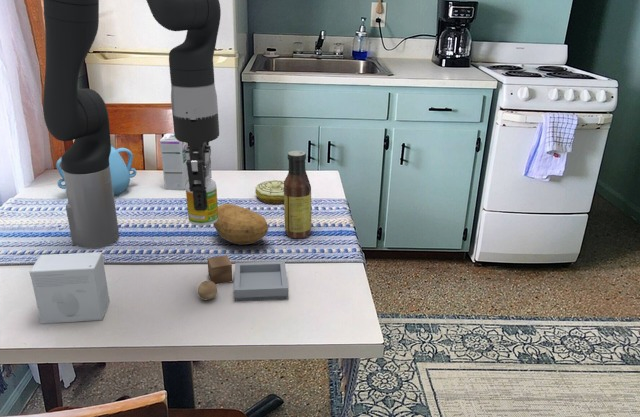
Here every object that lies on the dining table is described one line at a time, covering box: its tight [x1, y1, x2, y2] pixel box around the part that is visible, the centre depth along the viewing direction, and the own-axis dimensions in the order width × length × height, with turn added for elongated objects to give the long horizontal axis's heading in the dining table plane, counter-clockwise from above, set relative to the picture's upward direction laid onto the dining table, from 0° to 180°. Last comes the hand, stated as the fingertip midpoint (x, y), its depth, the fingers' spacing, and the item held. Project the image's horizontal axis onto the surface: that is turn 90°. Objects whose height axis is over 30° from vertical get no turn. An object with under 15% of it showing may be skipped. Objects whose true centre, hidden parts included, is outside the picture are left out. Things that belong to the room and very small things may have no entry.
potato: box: [212, 203, 269, 245], centre depth 122 cm, size 10×14×8 cm
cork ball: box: [197, 279, 218, 301], centre depth 102 cm, size 4×4×4 cm
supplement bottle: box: [185, 168, 219, 227], centre depth 98 cm, size 5×5×10 cm
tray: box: [233, 260, 289, 302], centre depth 106 cm, size 10×10×2 cm
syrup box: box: [159, 132, 189, 191], centre depth 149 cm, size 6×6×14 cm
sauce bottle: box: [283, 150, 312, 240], centre depth 124 cm, size 6×6×20 cm
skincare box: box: [29, 251, 111, 325], centre depth 95 cm, size 10×6×10 cm, turn 98°
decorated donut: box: [254, 179, 285, 204], centre depth 147 cm, size 10×11×4 cm
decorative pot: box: [55, 145, 137, 196], centre depth 144 cm, size 16×16×14 cm
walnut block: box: [207, 254, 233, 285], centre depth 108 cm, size 4×4×4 cm
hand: (202, 202), depth 98 cm, fingers closed on supplement bottle, 5 cm apart
